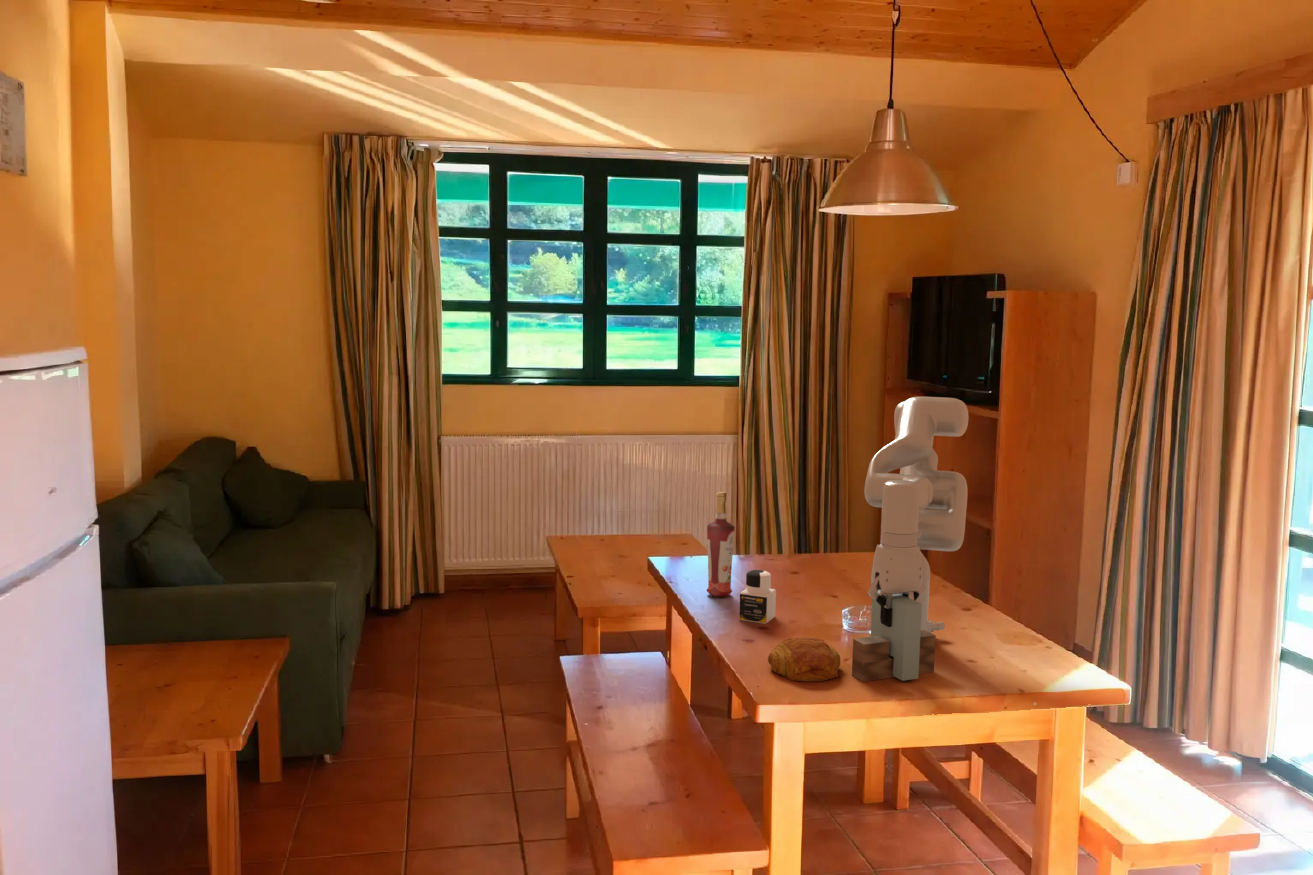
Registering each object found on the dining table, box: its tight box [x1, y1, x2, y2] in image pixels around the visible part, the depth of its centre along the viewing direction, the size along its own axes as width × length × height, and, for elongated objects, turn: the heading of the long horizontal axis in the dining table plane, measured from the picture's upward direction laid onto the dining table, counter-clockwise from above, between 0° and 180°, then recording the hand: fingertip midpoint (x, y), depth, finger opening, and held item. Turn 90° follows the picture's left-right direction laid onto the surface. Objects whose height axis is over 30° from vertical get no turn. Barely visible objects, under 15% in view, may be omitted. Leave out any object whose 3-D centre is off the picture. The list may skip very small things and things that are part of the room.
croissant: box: [767, 637, 841, 683], centre depth 225 cm, size 14×16×8 cm
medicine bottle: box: [738, 569, 777, 625], centre depth 262 cm, size 7×7×12 cm
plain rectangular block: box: [870, 590, 922, 682], centre depth 223 cm, size 12×4×16 cm, turn 22°
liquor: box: [706, 491, 735, 599], centre depth 281 cm, size 7×7×28 cm
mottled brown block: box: [851, 630, 937, 683], centre depth 224 cm, size 18×4×8 cm, turn 112°
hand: (895, 623), depth 223 cm, fingers closed on plain rectangular block, 3 cm apart
